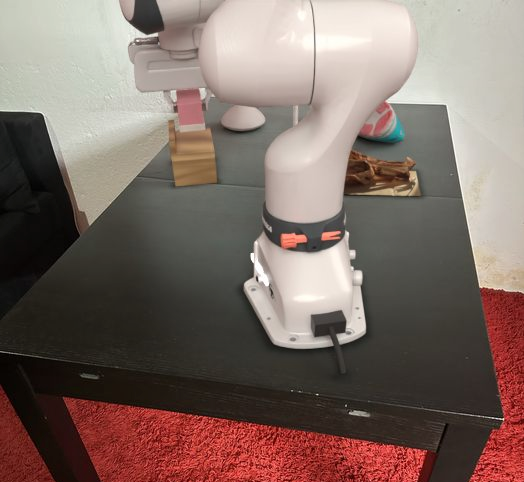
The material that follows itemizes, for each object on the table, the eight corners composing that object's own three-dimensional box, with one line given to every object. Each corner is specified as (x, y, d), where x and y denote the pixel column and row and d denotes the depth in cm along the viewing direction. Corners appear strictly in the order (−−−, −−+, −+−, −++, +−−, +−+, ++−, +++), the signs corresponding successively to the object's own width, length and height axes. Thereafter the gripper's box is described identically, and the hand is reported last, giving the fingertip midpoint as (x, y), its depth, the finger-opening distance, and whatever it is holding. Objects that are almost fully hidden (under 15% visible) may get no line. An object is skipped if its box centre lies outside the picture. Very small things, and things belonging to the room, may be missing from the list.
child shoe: (205, 130, 106) (202, 103, 103) (179, 132, 106) (176, 105, 102) (202, 109, 115) (199, 84, 111) (178, 111, 114) (174, 86, 111)
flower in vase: (265, 134, 132) (262, 20, 115) (220, 136, 133) (211, 21, 116) (265, 116, 142) (263, 8, 125) (223, 117, 142) (215, 9, 125)
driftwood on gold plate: (288, 138, 114) (420, 139, 112) (288, 168, 119) (415, 169, 116) (284, 162, 104) (429, 164, 101) (284, 194, 108) (423, 196, 106)
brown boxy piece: (217, 182, 113) (213, 139, 107) (175, 186, 113) (169, 142, 106) (212, 158, 123) (209, 116, 116) (174, 161, 122) (168, 120, 116)
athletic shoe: (403, 155, 123) (427, 105, 121) (378, 136, 118) (403, 83, 116) (336, 144, 144) (356, 101, 142) (312, 128, 139) (332, 83, 136)
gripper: (124, 42, 96) (139, 120, 105) (236, 35, 98) (240, 112, 107) (126, 34, 100) (140, 109, 110) (232, 27, 102) (237, 102, 112)
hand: (190, 111), depth 108 cm, fingers closed on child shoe, 5 cm apart
